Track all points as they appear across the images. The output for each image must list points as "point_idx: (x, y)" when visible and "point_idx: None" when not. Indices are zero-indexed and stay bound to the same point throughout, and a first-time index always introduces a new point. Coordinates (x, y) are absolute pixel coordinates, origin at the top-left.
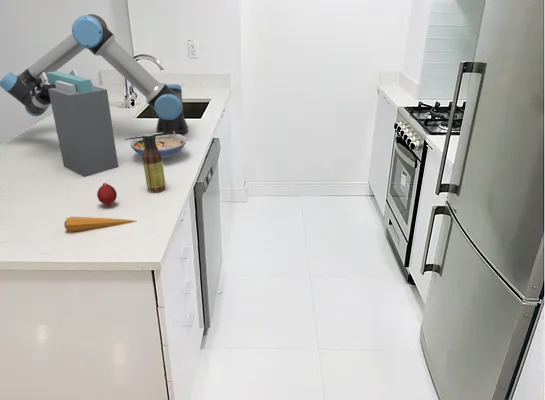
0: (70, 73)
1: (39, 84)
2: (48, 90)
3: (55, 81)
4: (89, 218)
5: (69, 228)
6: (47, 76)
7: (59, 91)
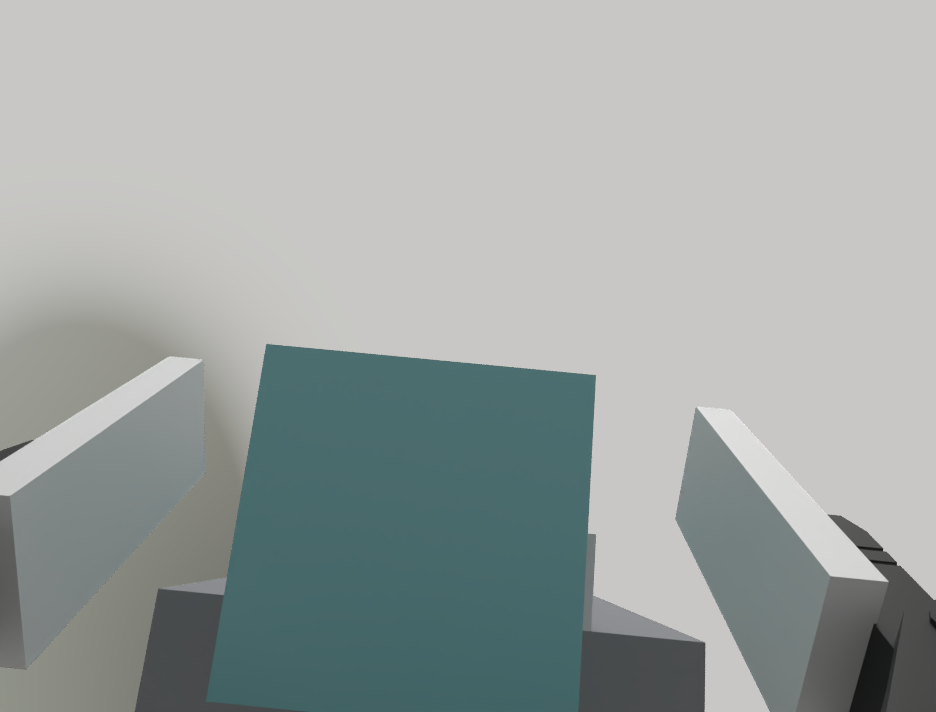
0: (125, 429)
1: (857, 693)
2: (704, 666)
3: (591, 537)
4: None
5: None
6: (583, 501)
7: (616, 611)
